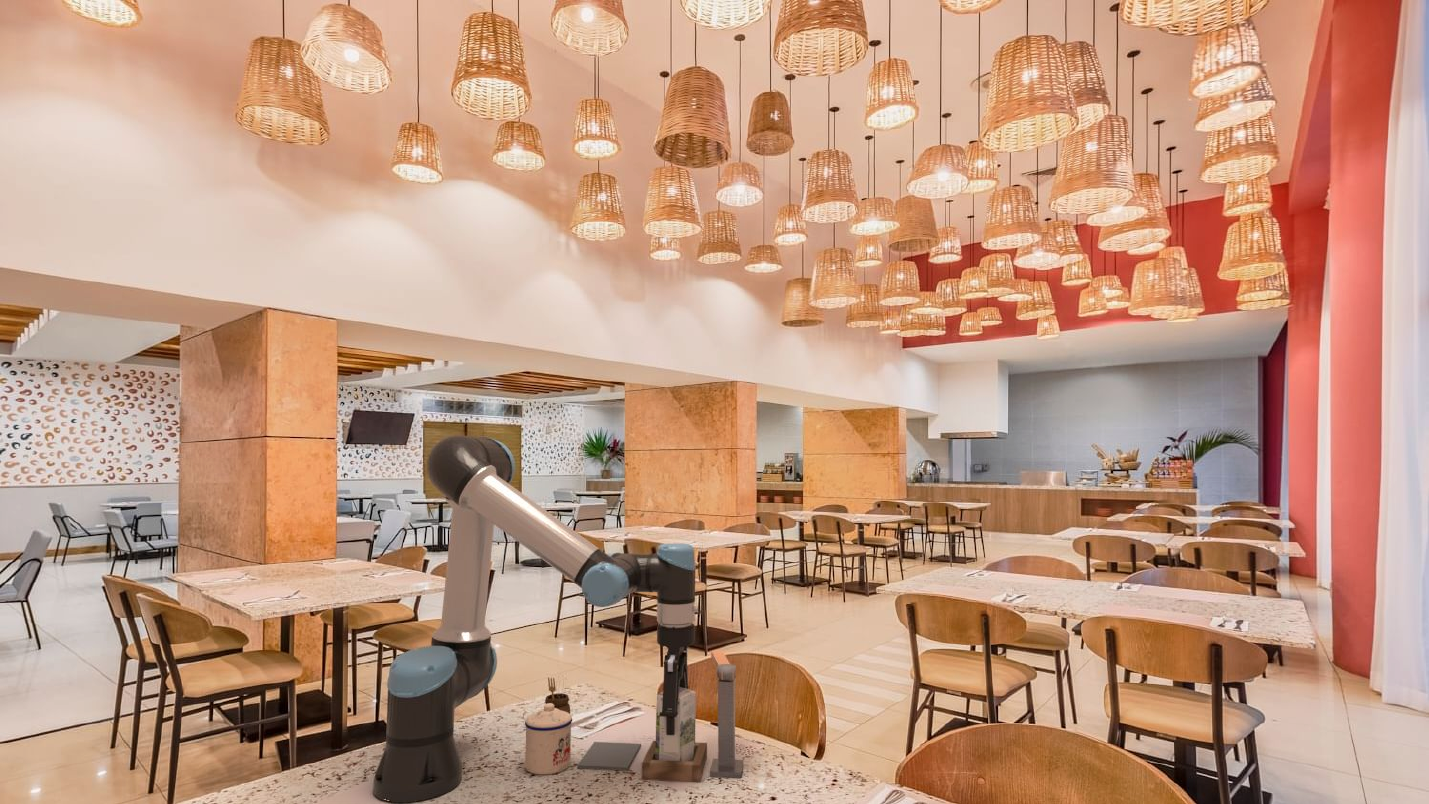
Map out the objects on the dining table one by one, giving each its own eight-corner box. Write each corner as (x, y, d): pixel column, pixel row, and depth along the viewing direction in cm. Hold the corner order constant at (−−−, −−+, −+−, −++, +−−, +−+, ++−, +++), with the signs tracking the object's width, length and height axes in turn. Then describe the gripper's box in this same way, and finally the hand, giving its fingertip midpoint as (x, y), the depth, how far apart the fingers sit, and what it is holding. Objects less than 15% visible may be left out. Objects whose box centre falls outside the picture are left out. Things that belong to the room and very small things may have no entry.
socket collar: (641, 779, 133) (641, 762, 133) (653, 755, 144) (653, 740, 144) (700, 782, 132) (699, 765, 132) (707, 758, 143) (707, 742, 143)
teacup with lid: (560, 777, 134) (561, 713, 135) (515, 774, 135) (517, 710, 136) (583, 752, 145) (584, 694, 147) (541, 749, 147) (543, 691, 148)
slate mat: (577, 768, 138) (577, 765, 138) (594, 744, 150) (594, 741, 150) (627, 770, 137) (627, 767, 137) (640, 746, 149) (640, 743, 149)
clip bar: (708, 657, 152) (708, 648, 153) (725, 657, 153) (725, 647, 153) (718, 680, 136) (718, 669, 136) (737, 679, 137) (737, 668, 137)
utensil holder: (574, 725, 161) (575, 670, 162) (562, 735, 155) (563, 678, 156) (550, 723, 162) (551, 669, 164) (537, 733, 156) (538, 676, 158)
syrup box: (670, 760, 142) (671, 685, 143) (696, 766, 139) (696, 689, 140) (654, 770, 137) (655, 693, 138) (680, 777, 134) (680, 697, 135)
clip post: (709, 776, 134) (709, 683, 136) (713, 763, 140) (713, 674, 142) (741, 778, 133) (740, 684, 135) (743, 765, 139) (743, 675, 141)
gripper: (686, 636, 129) (686, 765, 127) (702, 612, 151) (701, 721, 149) (645, 635, 130) (644, 763, 128) (667, 611, 152) (666, 720, 150)
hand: (675, 740), depth 138 cm, fingers open, 10 cm apart
